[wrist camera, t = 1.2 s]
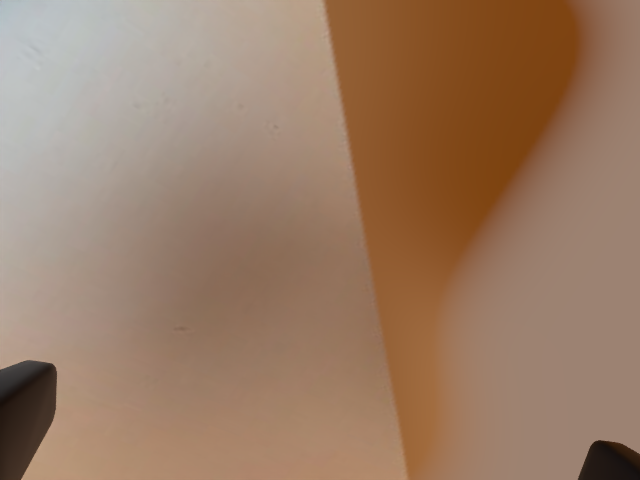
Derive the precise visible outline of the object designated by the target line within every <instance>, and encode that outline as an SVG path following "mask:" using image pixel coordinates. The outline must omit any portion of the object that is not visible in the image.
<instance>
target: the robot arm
mask: <svg viewBox="0 0 640 480" xmlns="http://www.w3.org/2000/svg"><path fill="white" fill-rule="evenodd" d="M56 386H57V371H56V367H55V366H54V365H53V364H52V363H46V362H39V361H32V360H27V361H24V362H21V363H18V364H15V365H12V366H10V367H7V368H4V369H1V370H0V480H21V478H22V477H23V475H24V473H25V471H26V469H27V468H28V466H29V464H30V462H31V460H32V458H33V457H34V455H35V453H36V451H37V449H38V447H39V446H40V444H41V442H42V440H43V438H44V437H45V435H46V433H47V431H48V429H49V427H50V426H51V423H52V421H53V418H54V415H55V410H56ZM578 480H640V454H639V453H637V452H635V451H634V450H631V449H630V448H628V447H627V446H625V445H623V444H620V443H616V442H609V441H601V440H598V441H595V442H594V443H593V444H592V445H591V447H590V449H589V451H588V454H587V457H586V459H585V462H584V465H583V467H582V470H581V472H580V475H579V478H578Z"/></svg>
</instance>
